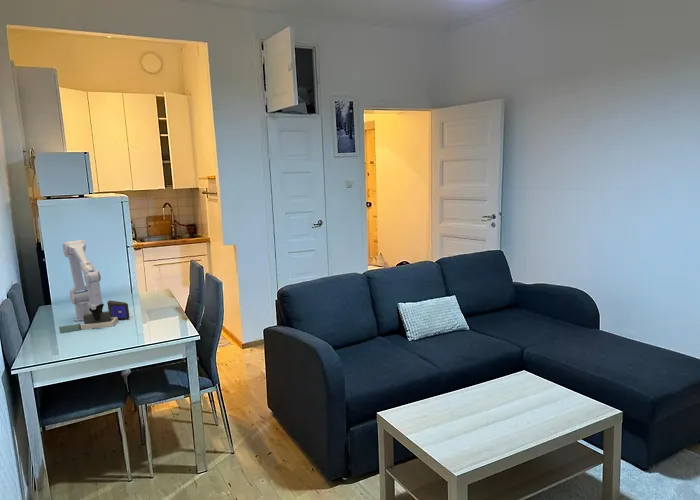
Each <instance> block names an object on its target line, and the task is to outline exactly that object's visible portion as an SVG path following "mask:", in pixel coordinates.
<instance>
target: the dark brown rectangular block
mask: <svg viewBox="0 0 700 500" xmlns="http://www.w3.org/2000/svg"><path fill="white" fill-rule="evenodd" d="M83 319H84V320H83V324H92V323H102V322H110V321H111V315H110V311H108V310H107V311H102V312H100V320H99V321H95V319H94V316H93V314H92V313H91V314H85V315H84V316H83Z"/></svg>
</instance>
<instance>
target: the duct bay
mask: <svg viewBox="0 0 700 500" xmlns="http://www.w3.org/2000/svg"><path fill="white" fill-rule="evenodd" d="M118 322H119V320H118V317H112V318H111V321H110V322H102V323H92V324H84V323H83V324H82V323H81V330H82V331H83V330H91V329H92V328H94V329H102V327H104V328H112V326H113V327H114V326H115V325H116V324H118Z"/></svg>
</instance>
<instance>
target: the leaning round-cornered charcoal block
mask: <svg viewBox="0 0 700 500" xmlns="http://www.w3.org/2000/svg"><path fill="white" fill-rule="evenodd" d="M107 309H108V310H107V311H110V315H111V318H112V317H118V321H124V320H129V318H131V316H130V311H129V304H128V303H127V302H125V301H116V300H108V301H107Z"/></svg>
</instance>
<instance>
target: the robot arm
mask: <svg viewBox="0 0 700 500" xmlns="http://www.w3.org/2000/svg"><path fill="white" fill-rule="evenodd" d="M86 249H87V245H86V241H85V240H84V239H78V240H70V241H64V242H63V243H62V251H63V255H64V257H65V258H68V261H69V266H70V272H71V275H72V276H71V277H72V280H73V285H74V286H73V287H72V288H71V289H70V290H69V299H70V300H69V301H70V302H71V304H72V305H74V308H75V315H76V318H75V319H74V322H80V321H84V319H83V316H84V315H85V314H91V313H92V314H93V316H94V319H95V321H99V320H100V312H103V308H104V305H105V304H104V302H103V298H102V291H101V284H100V282H101V273H100V271H99V270H98V269H96V268H95V266H94V265H93V262H92V261H91V260H88V258H87V254H86Z"/></svg>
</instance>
